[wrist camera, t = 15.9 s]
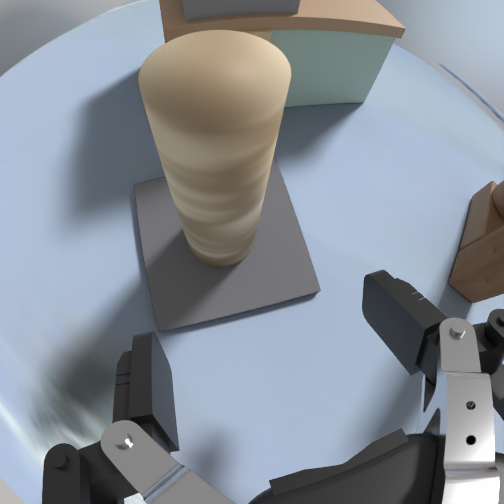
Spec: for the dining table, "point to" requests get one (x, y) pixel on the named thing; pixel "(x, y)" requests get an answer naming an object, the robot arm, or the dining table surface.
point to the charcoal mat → (226, 278)
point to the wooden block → (482, 247)
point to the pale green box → (302, 39)
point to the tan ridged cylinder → (216, 133)
